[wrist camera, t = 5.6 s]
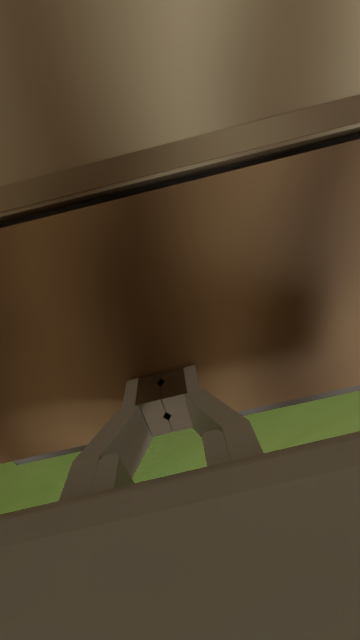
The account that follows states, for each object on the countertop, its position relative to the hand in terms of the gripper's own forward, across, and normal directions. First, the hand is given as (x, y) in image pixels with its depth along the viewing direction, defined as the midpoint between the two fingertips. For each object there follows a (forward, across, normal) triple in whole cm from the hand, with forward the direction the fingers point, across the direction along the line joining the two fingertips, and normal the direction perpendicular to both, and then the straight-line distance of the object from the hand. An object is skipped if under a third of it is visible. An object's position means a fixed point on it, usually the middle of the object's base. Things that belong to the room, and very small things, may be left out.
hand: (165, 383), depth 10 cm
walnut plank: (+1, 0, -2) cm, 3 cm away
